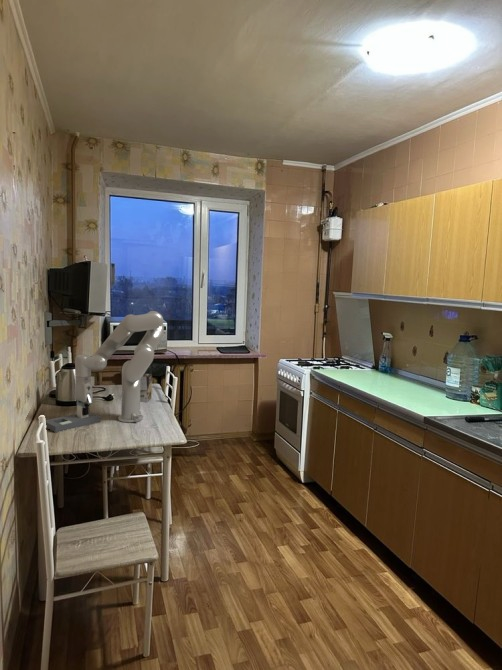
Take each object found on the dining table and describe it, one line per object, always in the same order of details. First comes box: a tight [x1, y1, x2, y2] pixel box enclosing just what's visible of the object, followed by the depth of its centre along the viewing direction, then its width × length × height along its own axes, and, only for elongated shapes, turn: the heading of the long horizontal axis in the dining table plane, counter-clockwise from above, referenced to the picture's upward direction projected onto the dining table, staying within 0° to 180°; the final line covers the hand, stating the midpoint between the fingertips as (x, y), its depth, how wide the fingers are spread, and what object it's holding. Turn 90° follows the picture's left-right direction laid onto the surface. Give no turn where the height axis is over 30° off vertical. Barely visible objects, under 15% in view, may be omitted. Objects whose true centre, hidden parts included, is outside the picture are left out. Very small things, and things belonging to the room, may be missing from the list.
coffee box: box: [140, 372, 153, 403], centre depth 274 cm, size 9×6×16 cm
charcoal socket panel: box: [46, 411, 101, 433], centre depth 223 cm, size 12×24×3 cm, turn 143°
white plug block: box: [76, 402, 88, 418], centre depth 228 cm, size 4×4×10 cm
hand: (82, 413), depth 228 cm, fingers closed on white plug block, 4 cm apart
